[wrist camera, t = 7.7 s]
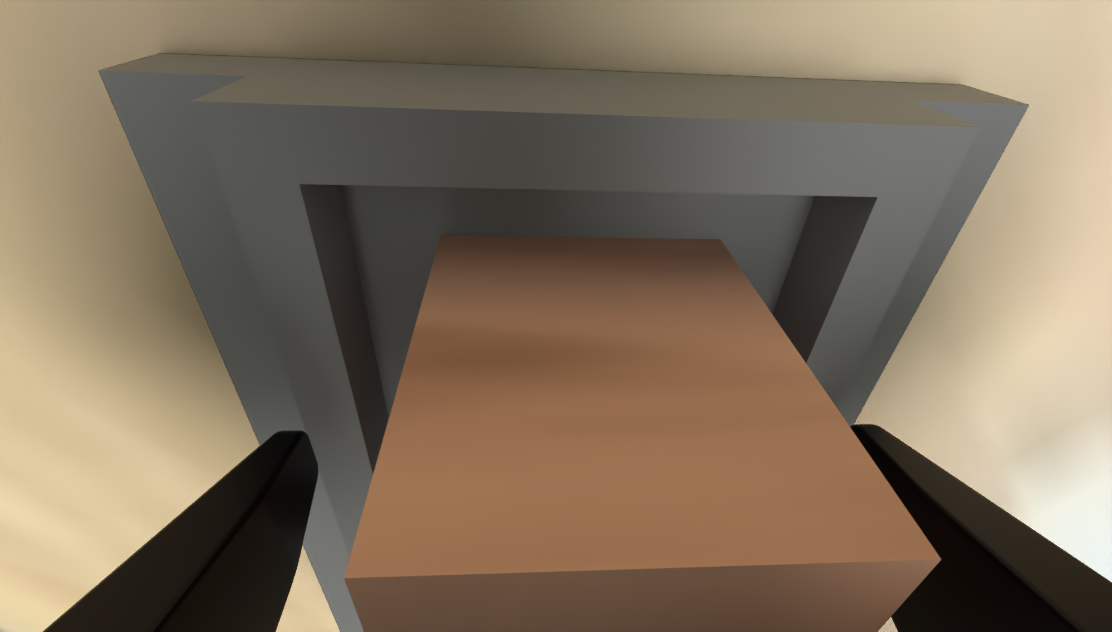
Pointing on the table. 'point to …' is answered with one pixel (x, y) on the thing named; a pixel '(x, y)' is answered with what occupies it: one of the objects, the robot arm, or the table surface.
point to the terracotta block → (619, 457)
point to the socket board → (528, 213)
